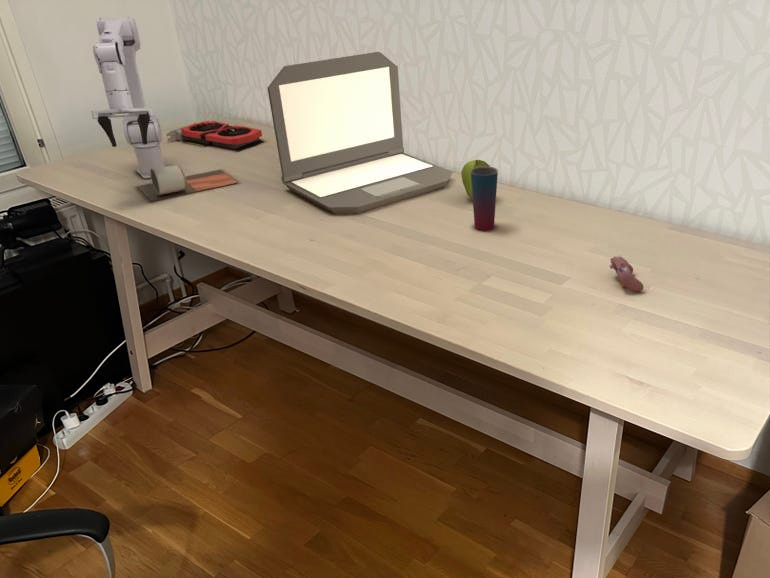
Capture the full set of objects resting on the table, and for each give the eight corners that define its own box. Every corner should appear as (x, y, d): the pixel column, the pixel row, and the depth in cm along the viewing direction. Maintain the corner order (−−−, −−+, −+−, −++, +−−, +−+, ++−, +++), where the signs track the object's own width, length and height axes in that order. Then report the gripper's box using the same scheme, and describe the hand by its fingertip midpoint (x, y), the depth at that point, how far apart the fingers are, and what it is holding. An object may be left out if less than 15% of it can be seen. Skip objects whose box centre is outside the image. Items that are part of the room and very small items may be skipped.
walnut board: (137, 187, 207) (137, 186, 206) (220, 170, 219) (220, 169, 219) (151, 201, 196) (151, 200, 196) (237, 183, 209) (237, 182, 209)
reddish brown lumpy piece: (615, 279, 158) (604, 255, 154) (633, 270, 157) (622, 245, 153) (626, 300, 150) (614, 274, 146) (645, 291, 149) (635, 265, 145)
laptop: (340, 221, 184) (323, 88, 165) (283, 190, 203) (262, 69, 185) (463, 183, 207) (461, 64, 189) (402, 159, 227) (394, 49, 208)
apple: (465, 193, 200) (465, 154, 194) (494, 195, 199) (494, 155, 192) (458, 204, 193) (457, 163, 187) (488, 206, 192) (488, 165, 185)
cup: (500, 224, 181) (501, 167, 173) (492, 233, 176) (493, 176, 168) (476, 220, 183) (475, 165, 175) (467, 230, 178) (466, 173, 170)
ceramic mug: (190, 192, 202) (183, 166, 198) (161, 198, 198) (154, 171, 193) (178, 183, 209) (171, 157, 205) (150, 189, 205) (143, 163, 200)
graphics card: (223, 156, 231) (221, 144, 229) (163, 141, 245) (161, 130, 243) (268, 141, 245) (266, 130, 242) (209, 128, 259) (206, 117, 257)
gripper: (89, 91, 176) (102, 146, 180) (150, 89, 183) (161, 142, 187) (85, 94, 181) (98, 148, 185) (144, 92, 189) (156, 144, 193)
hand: (130, 145), depth 187 cm, fingers open, 7 cm apart
